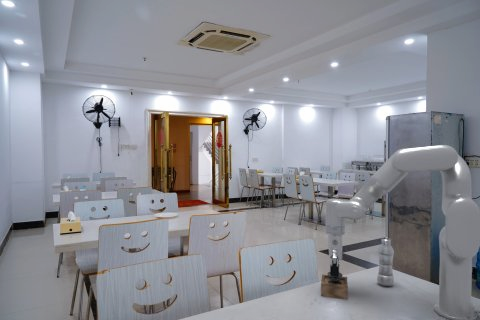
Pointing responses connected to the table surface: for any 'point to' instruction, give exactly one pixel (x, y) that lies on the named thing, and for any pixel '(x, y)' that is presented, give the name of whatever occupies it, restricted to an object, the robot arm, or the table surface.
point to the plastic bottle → (385, 263)
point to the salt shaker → (335, 277)
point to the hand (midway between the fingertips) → (334, 271)
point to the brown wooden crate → (334, 288)
